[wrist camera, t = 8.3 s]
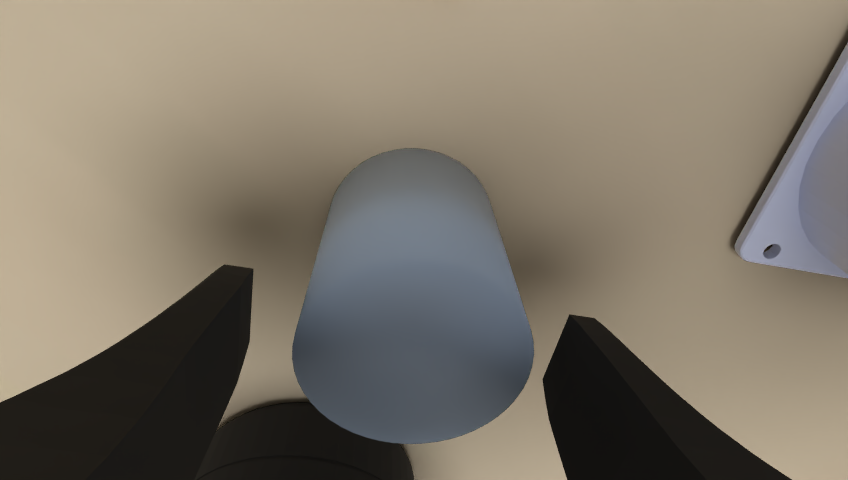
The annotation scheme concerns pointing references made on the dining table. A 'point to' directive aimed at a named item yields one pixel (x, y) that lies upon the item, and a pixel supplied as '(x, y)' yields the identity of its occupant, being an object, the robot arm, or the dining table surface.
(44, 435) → the robot arm
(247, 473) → the pen holder
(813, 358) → the dining table surface
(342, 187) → the slate cylinder
